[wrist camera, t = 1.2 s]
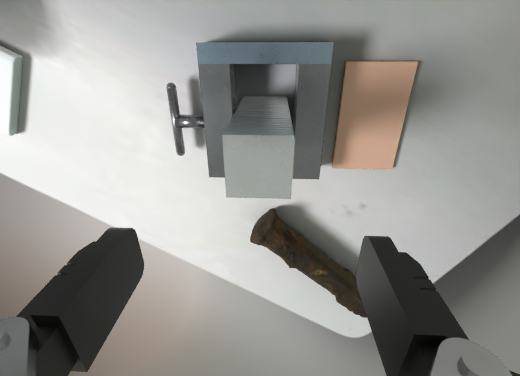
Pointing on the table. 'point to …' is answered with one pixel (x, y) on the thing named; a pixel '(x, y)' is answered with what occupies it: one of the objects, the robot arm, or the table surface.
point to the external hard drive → (9, 90)
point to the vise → (224, 97)
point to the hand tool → (308, 260)
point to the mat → (372, 113)
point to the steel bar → (259, 149)
